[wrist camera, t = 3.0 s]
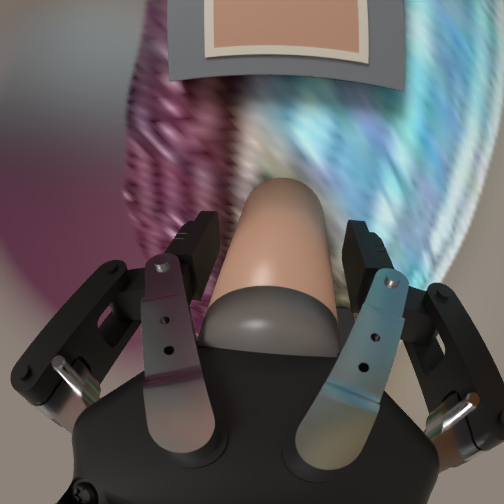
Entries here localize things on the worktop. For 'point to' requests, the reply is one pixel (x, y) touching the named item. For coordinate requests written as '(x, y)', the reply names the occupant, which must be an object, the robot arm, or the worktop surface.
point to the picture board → (288, 39)
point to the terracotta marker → (276, 278)
